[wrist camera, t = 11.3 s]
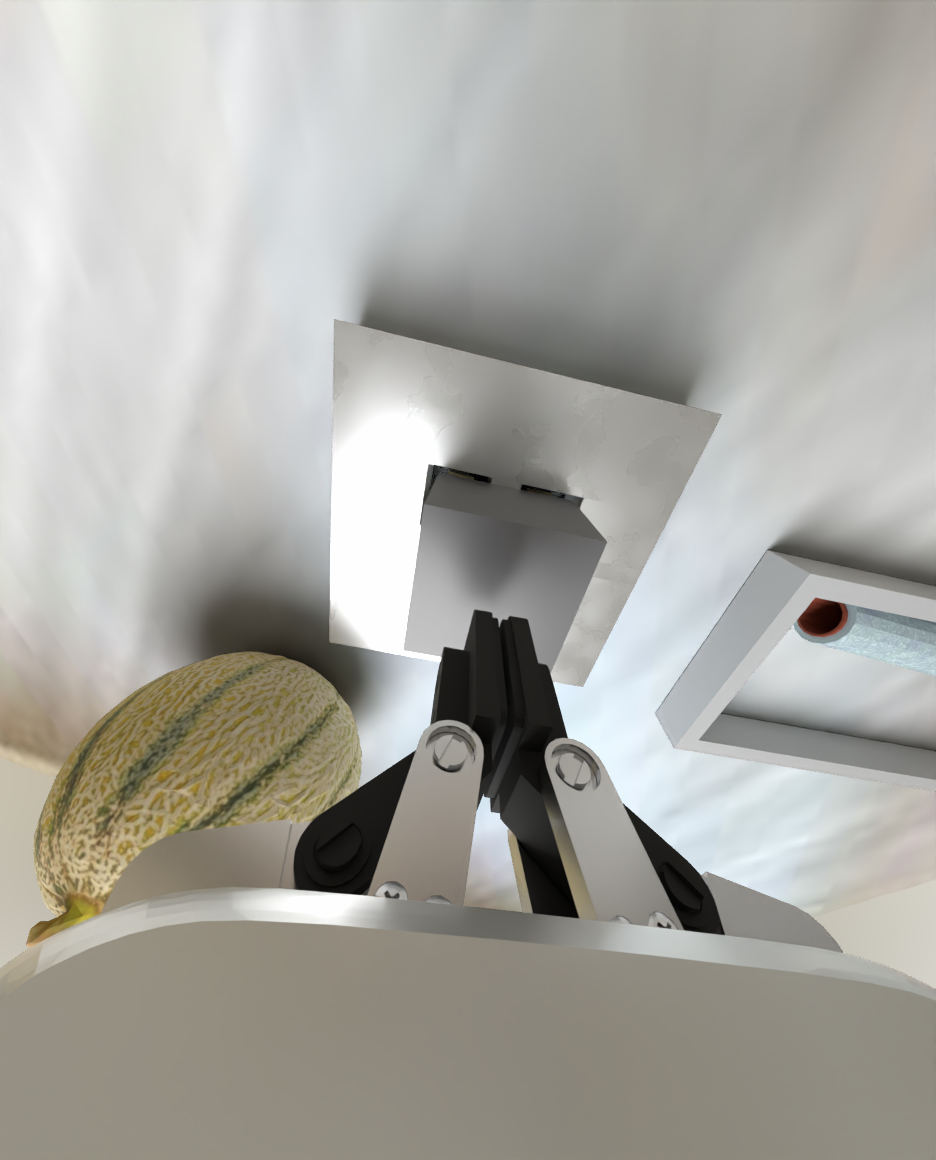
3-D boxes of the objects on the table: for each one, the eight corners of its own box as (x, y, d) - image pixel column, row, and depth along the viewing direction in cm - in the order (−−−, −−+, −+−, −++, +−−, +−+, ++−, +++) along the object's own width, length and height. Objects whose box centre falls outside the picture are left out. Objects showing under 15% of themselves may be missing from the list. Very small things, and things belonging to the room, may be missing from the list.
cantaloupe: (351, 766, 32) (262, 1033, 19) (182, 713, 29) (-66, 985, 16) (414, 657, 25) (344, 948, 12) (203, 574, 22) (-191, 839, 9)
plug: (444, 460, 18) (423, 503, 11) (559, 485, 19) (607, 541, 12) (427, 565, 22) (402, 650, 15) (526, 584, 22) (549, 676, 15)
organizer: (767, 550, 20) (810, 573, 18) (1175, 638, 23) (1267, 670, 20) (655, 713, 27) (673, 748, 25) (976, 769, 30) (1025, 806, 27)
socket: (358, 330, 16) (334, 319, 13) (684, 410, 17) (721, 414, 14) (345, 613, 23) (328, 642, 21) (571, 655, 25) (582, 686, 22)
